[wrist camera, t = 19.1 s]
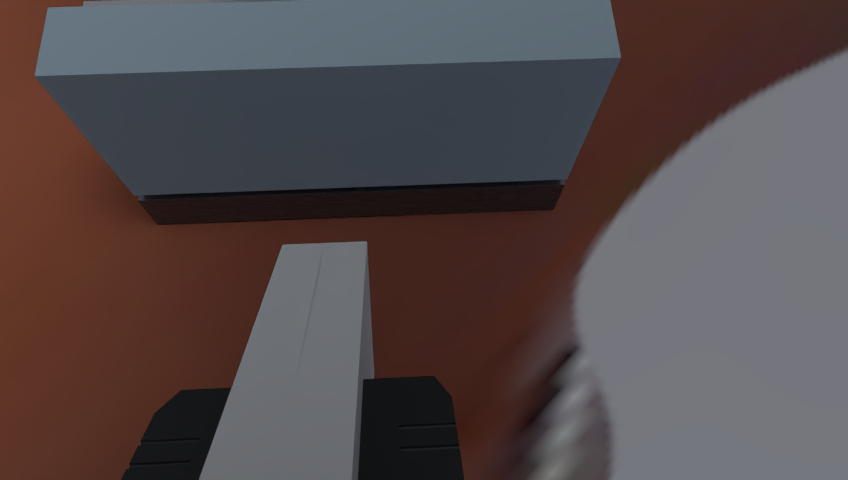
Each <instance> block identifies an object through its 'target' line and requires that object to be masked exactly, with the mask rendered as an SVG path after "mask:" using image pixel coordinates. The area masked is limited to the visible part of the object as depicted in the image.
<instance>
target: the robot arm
mask: <svg viewBox="0 0 848 480" xmlns="http://www.w3.org/2000/svg"><path fill="white" fill-rule="evenodd" d="M121 480H464V475H463V469H462V462H461V455H460V450H459V442H458V435H457V429H456V422H455V415H454V409H453V402H452V397H451V395H450V394H449V393H448V392H447V391H446V390H445V388H444V387H443V386H442V385H441V384H440V383H439V381H438V380H437V379H436V378H435V377H434V376H422V377H400V378H379V379H374V359H373V341H372V323H371V305H370V287H369V269H368V251H367V241H363V242H336V243H310V244H284V245H282V247H281V250H280V253H279V256H278V259H277V262H276V264H275V267H274V270H273V273H272V276H271V278H270V281H269V284H268V287H267V290H266V292H265V295H264V298H263V301H262V304H261V307H260V309H259V312H258V315H257V318H256V321H255V323H254V326H253V329H252V332H251V335H250V337H249V340H248V343H247V346H246V349H245V351H244V354H243V357H242V360H241V363H240V366H239V368H238V371H237V374H236V377H235V380H234V382H233V385H232V388H216V389H195V390H181V391H180V392H178V393H177V394H176V395H175V396H174V397H173V398H172V399H171V400H169V401H168V402H167V403H166V404H165V405H164V406H163V407H161V408H160V409H159V410H158V411H157V412H156V413H155V414H154V416H153V418H152V420H151V422H150V424H149V426H148V428H147V430H146V432H145V434H144V436H143V438H142V440H141V446H138V448H137V450H136V452H135V454H134V456H133V458H132V459H131V461H130V468H129V469H126V471H125V473H124V475H123V477H122V479H121Z"/></svg>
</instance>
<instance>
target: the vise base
mask: <svg viewBox="0 0 848 480" xmlns="http://www.w3.org/2000/svg"><path fill="white" fill-rule="evenodd" d="M564 185H565V183H564V179H562V180H535V181H509V182H482V183H455V184H429V185H402V186H375V187H349V188H322V189H295V190H269V191H242V192H215V193H189V194H162V195H139V199H138V201H139V202H140V203H141V205H142V206H143V207H144V208H145V209H146V211H147V212H148V213H149V214H150V215H151V217H152V218H153V219H154V220H155V221H156V223H157V224H183V223H208V222H234V221H260V220H285V219H311V218H337V217H362V216H388V215H414V214H439V213H465V212H491V211H516V210H542V209H554V208H555V205H556V203H557V201H558V199H559V196H560V194H561V192H562V190H563V187H564Z"/></svg>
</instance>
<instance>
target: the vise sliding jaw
mask: <svg viewBox="0 0 848 480" xmlns="http://www.w3.org/2000/svg"><path fill="white" fill-rule="evenodd" d="M620 59H621V54H620V48H619V43H618V38H617V33H616V28H615V23H614V17H613V12H612V7H611V2H610V0H113V1H84V3H83V7H48V10H47V15H46V21H45V26H44V31H43V36H42V41H41V46H40V51H39V56H38V61H37V66H36V71H35V77H36V78H37V80H38V81H39V82H40V83H41V84H42V86H43V87H44V88H45V89H46V90H47V92H48V93H49V94H50V95H51V96H52V98H53V99H54V100H55V101H56V102H57V104H58V105H59V106H60V107H61V108H62V110H63V111H64V112H65V113H66V114H67V116H68V117H69V118H70V119H71V120H72V122H73V123H74V124H75V125H76V127H77V128H78V129H79V130H80V131H81V133H82V134H83V135H84V136H85V137H86V139H87V140H88V141H89V142H90V143H91V145H92V146H93V147H94V148H95V149H96V151H97V152H98V153H99V154H100V155H101V157H102V158H103V159H104V160H105V161H106V163H107V164H108V165H109V166H110V167H111V169H112V170H113V171H114V172H115V173H116V175H117V176H118V177H119V178H120V179H121V181H122V182H123V183H124V184H125V185H126V187H127V188H128V189H129V190H130V191H131V193H132V194H133V195H134V196H135V195H162V194H189V193H215V192H242V191H269V190H295V189H322V188H349V187H375V186H402V185H429V184H455V183H482V182H509V181H535V180H562V179H567V178H568V176H569V174H570V172H571V169H572V167H573V165H574V163H575V160H576V158H577V156H578V154H579V151H580V149H581V147H582V145H583V142H584V140H585V138H586V136H587V134H588V131H589V129H590V127H591V125H592V122H593V120H594V118H595V116H596V113H597V111H598V109H599V107H600V104H601V102H602V100H603V98H604V95H605V93H606V91H607V89H608V86H609V84H610V82H611V80H612V77H613V75H614V73H615V71H616V68H617V66H618V64H619V62H620Z"/></svg>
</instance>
